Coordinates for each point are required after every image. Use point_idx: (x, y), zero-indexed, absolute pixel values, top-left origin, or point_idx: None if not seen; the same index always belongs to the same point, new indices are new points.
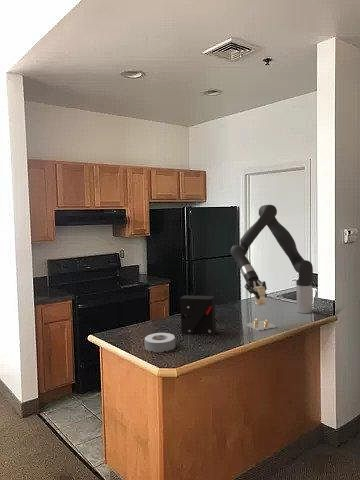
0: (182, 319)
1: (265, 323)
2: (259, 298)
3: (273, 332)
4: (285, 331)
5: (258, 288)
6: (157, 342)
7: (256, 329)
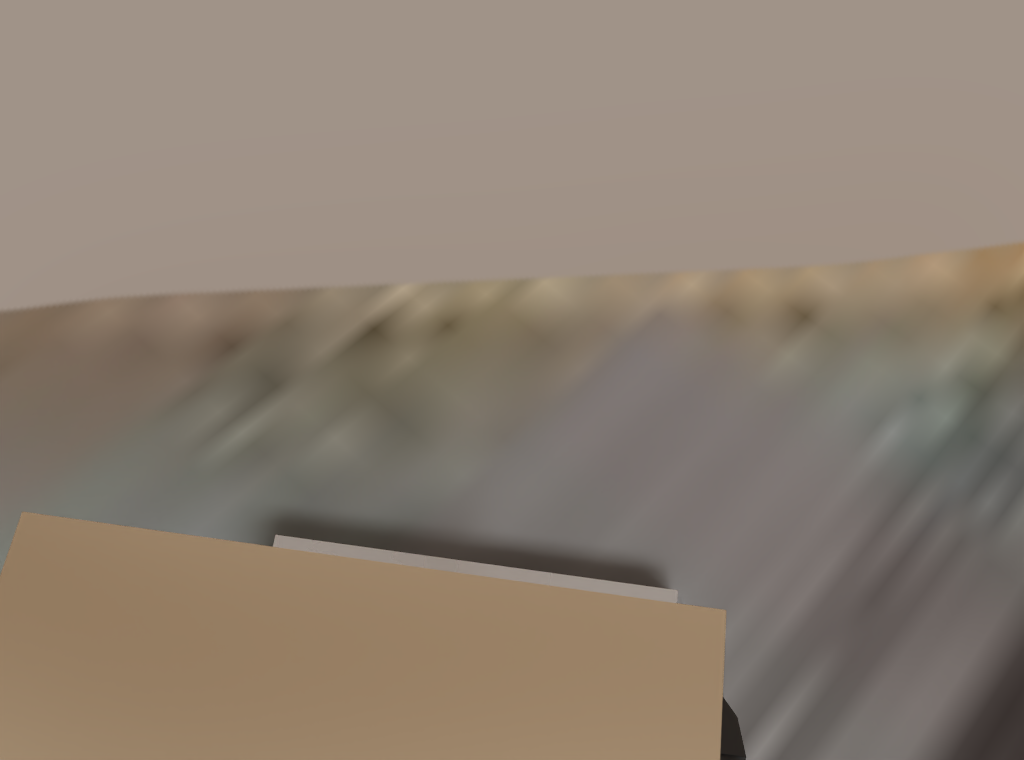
0: None
1: None
2: None
3: (534, 383)
4: (356, 301)
5: (703, 731)
6: None
7: None
